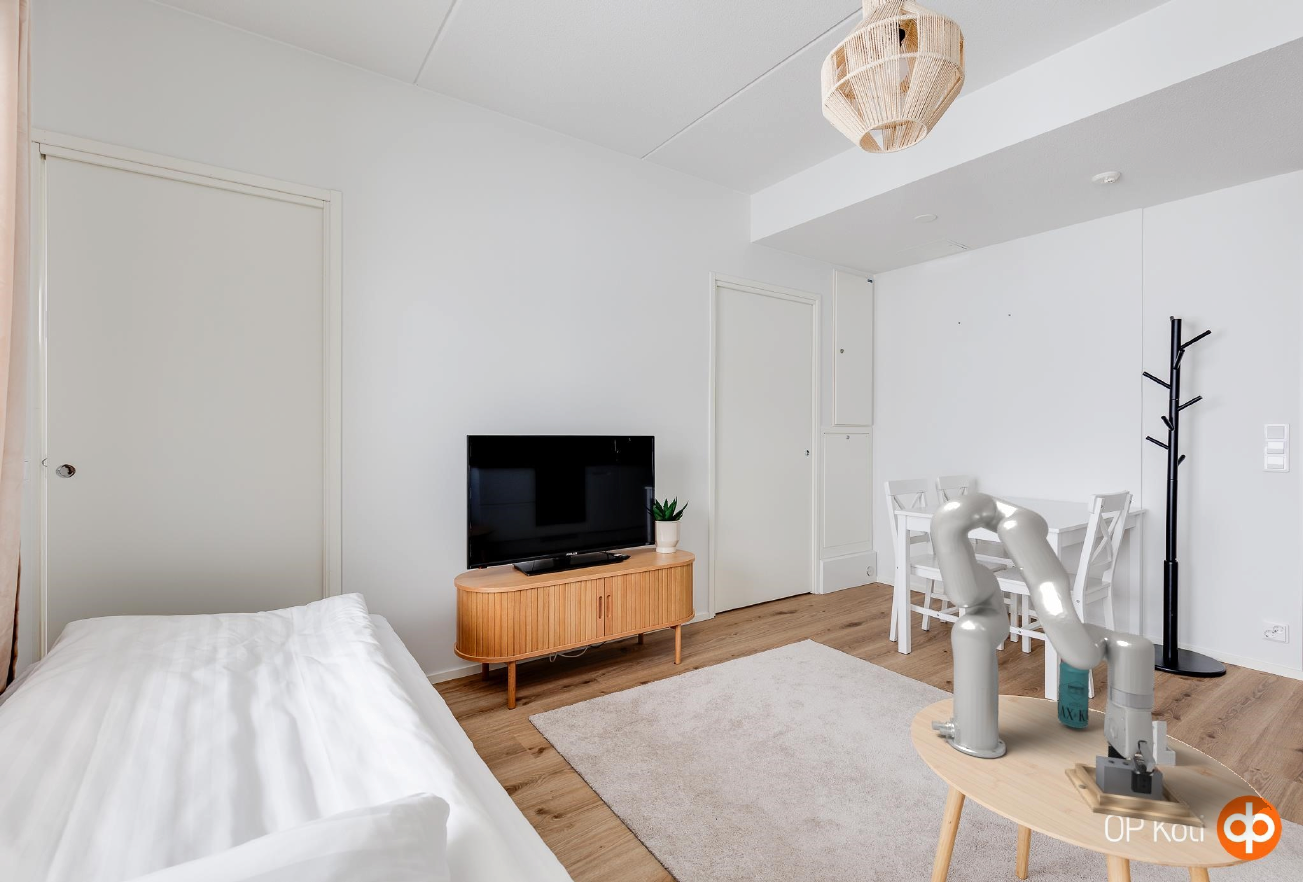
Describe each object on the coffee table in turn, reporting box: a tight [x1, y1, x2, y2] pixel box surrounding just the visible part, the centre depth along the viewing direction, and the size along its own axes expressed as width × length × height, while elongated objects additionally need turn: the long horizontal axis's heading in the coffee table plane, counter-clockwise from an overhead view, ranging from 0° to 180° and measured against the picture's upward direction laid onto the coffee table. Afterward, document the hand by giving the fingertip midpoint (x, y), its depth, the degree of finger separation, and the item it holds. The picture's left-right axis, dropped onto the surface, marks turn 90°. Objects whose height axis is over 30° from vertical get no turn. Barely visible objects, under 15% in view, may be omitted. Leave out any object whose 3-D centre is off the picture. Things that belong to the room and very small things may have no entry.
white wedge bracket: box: [1152, 720, 1176, 767], centre depth 138 cm, size 4×10×9 cm, turn 168°
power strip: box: [1095, 755, 1164, 801], centre depth 124 cm, size 10×4×6 cm, turn 74°
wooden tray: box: [1064, 762, 1203, 828], centre depth 124 cm, size 18×14×3 cm
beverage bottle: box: [1057, 661, 1090, 729], centre depth 152 cm, size 6×7×20 cm
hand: (1128, 778), depth 124 cm, fingers open, 9 cm apart
